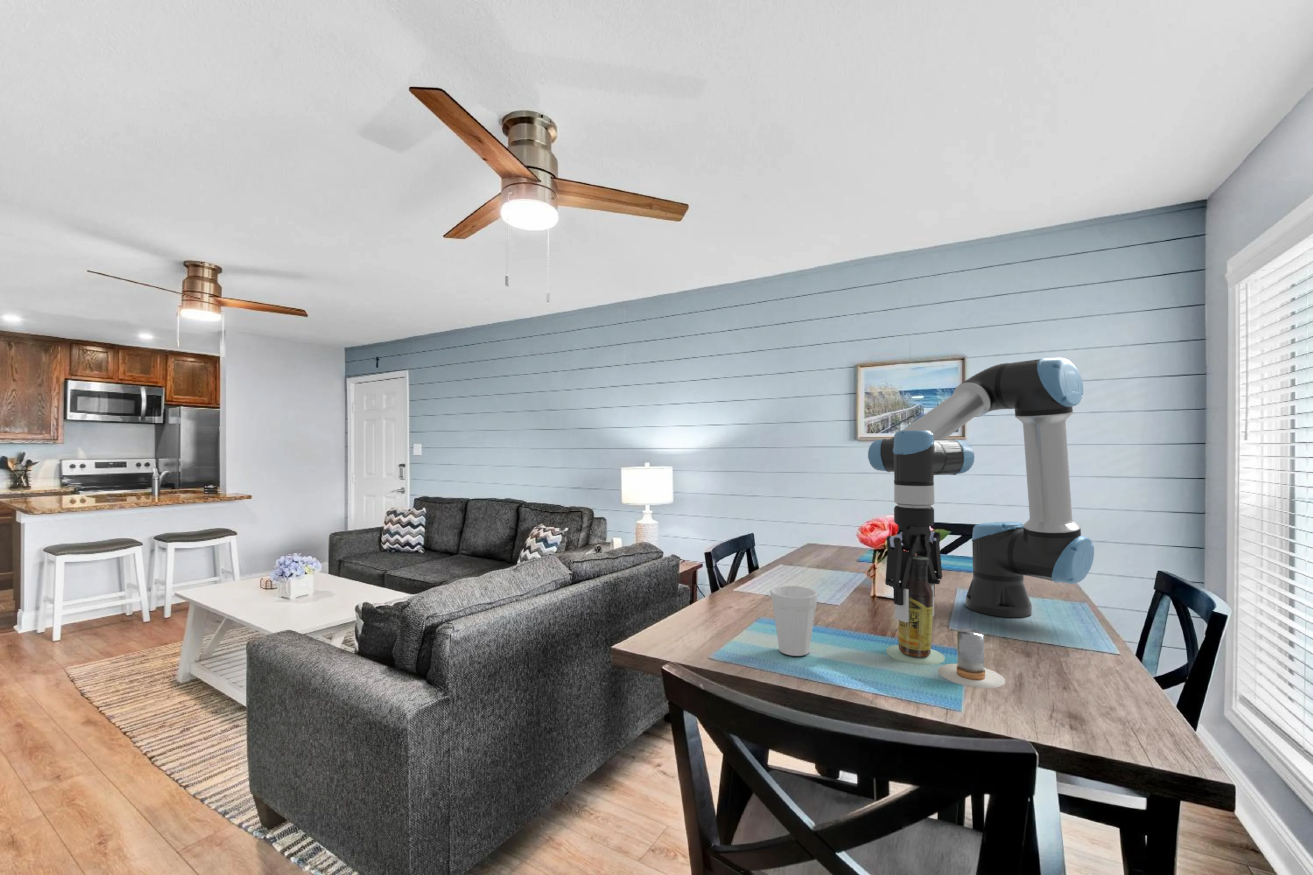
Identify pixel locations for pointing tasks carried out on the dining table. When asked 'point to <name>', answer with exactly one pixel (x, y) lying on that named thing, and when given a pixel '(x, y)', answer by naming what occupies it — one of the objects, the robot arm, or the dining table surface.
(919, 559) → the sauce bottle
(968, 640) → the glass jar
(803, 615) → the cup
